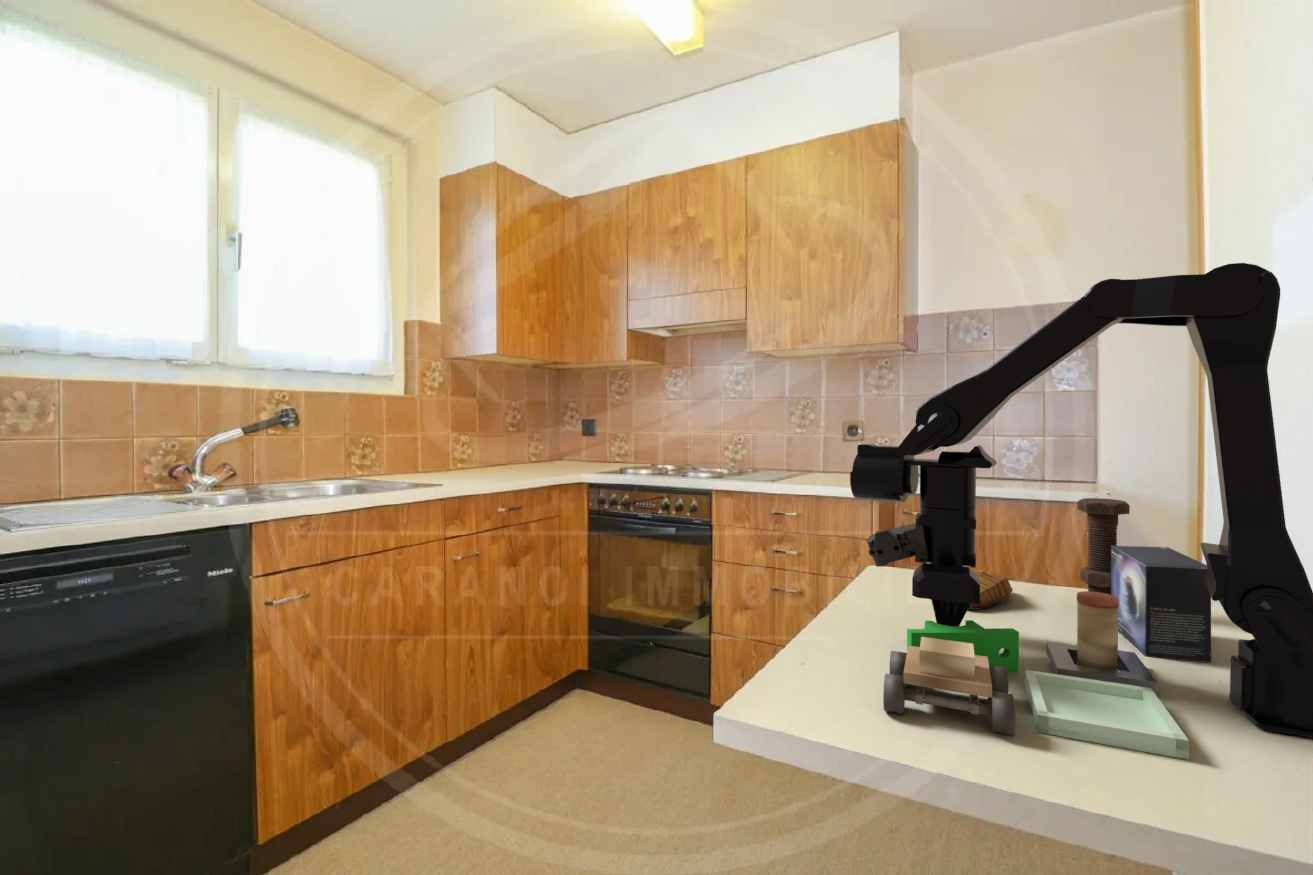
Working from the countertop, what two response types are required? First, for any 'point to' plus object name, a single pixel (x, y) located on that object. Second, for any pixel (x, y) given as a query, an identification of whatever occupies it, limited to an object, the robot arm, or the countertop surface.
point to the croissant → (991, 589)
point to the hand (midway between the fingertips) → (945, 641)
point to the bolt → (1101, 540)
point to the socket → (1128, 665)
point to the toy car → (950, 681)
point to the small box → (1162, 602)
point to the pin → (1097, 630)
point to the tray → (1104, 713)
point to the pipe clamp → (975, 641)
